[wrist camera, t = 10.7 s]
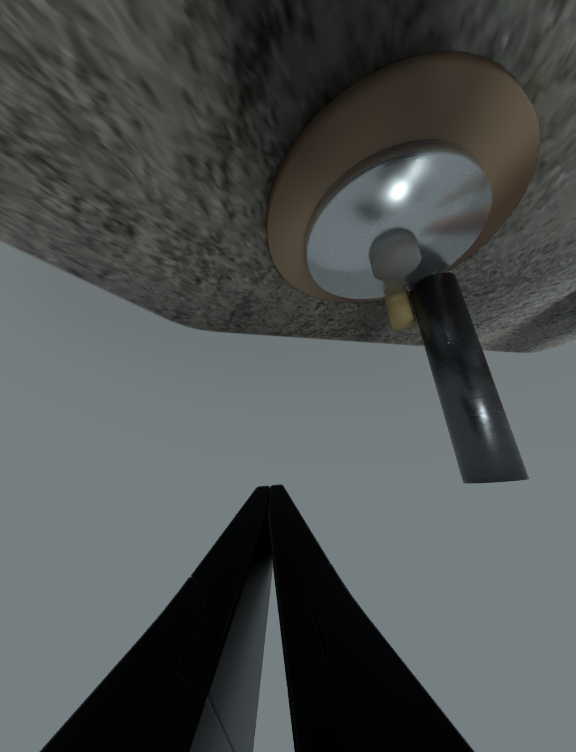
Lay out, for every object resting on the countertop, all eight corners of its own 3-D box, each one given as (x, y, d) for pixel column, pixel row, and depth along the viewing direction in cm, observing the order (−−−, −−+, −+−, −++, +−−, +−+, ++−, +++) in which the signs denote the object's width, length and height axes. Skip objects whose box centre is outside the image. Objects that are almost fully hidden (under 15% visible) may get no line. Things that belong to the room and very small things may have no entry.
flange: (270, 244, 15) (293, 506, 11) (443, 75, 9) (655, 504, 5) (379, 312, 23) (419, 483, 18) (514, 243, 17) (622, 472, 12)
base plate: (628, 35, 10) (697, 105, 8) (442, 283, 22) (457, 329, 20) (248, 67, 10) (253, 144, 8) (275, 299, 22) (279, 345, 20)
